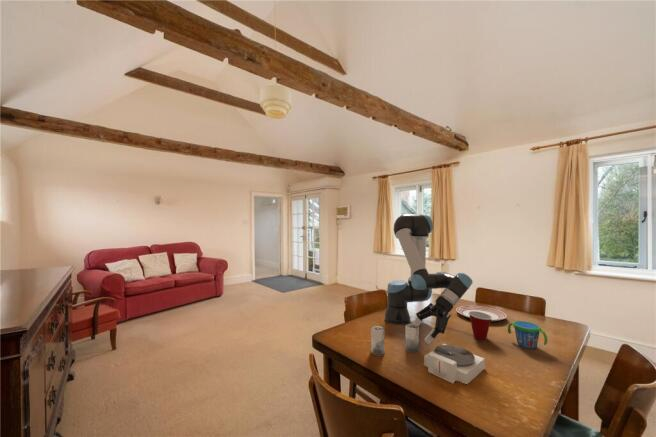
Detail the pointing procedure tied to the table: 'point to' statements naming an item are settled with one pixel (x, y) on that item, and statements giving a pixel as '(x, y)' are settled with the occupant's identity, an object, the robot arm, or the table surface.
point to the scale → (453, 368)
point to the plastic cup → (480, 324)
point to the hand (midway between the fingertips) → (418, 335)
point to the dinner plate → (494, 313)
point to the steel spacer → (377, 340)
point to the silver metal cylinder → (412, 338)
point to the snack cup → (527, 334)
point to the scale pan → (456, 354)
